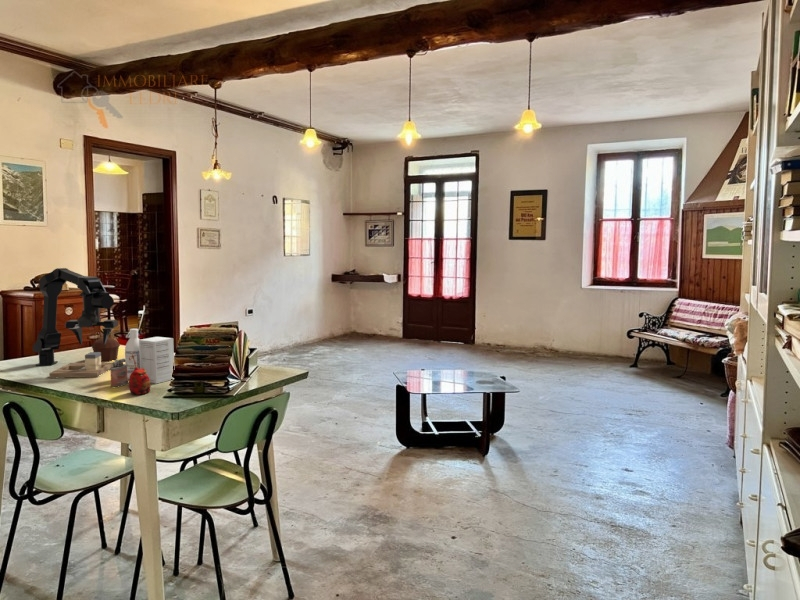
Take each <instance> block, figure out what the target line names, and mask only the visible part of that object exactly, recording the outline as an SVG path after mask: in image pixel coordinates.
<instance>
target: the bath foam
mask: <svg viewBox="0 0 800 600" xmlns="http://www.w3.org/2000/svg"><path fill="white" fill-rule="evenodd" d="M138 331H139V329H138V328H130V329H129V339H128V341H127V342H126V344H125V346H124V355H125V356H124V359H125V360H126V362H124V364H128V367H127V374H128V380H129V379H130V375H131V373H132V372H133V371H134V369H135V364H134V359H135V362H136V366H137V368H138V369H140V355H139V340H141V339H140V338H139V332H138ZM131 353H132V354H133V355H134V359H133V358H132V359H131V360H129V357H130V356H132V354H131ZM135 355H136V356H135ZM130 358H131V357H130Z"/></svg>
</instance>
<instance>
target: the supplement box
mask: <svg viewBox="0 0 800 600" xmlns="http://www.w3.org/2000/svg"><path fill="white" fill-rule="evenodd" d="M174 351H175V350H174V338H173V337H164V336H153V337H147V338H143V339H140V340H139V355H140V369H142V368H143V369H144V370H145V371H146V373H147V375H148V377H149V379H150V384H159V383H160V384H161V383H163V382H164V383H165V382H169V381H172V380H171V379H172V368H173V360H174V361H175V352H174Z"/></svg>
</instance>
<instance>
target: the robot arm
mask: <svg viewBox="0 0 800 600" xmlns="http://www.w3.org/2000/svg"><path fill="white" fill-rule="evenodd" d="M67 282H69V283H71V284H74V285H76V286H77V289H79V290H80V291H82V292H80V294H79V297H82V307H83V309H82V311H81V315H80V316H79V317H78V319H70V320H67V321H65V324H64V328H65V329H68V330H69V331H72V333H73V334H74V335H75V337H76V339H77V341H78V344H79V345H80V346H81V345H83V328H91V327H103V328H102V333H103V336H102V338H103V344H106V341H107V339H108V338H109V336H110V333H111V332H112V330H113V329H115V328H117V327H118V326H119V322H118V320H117V319H106V320H103V321H101V320H102V319H101V318H100V312H101V309H105V310H110V309H111V308H112V307H113V306H114V304H115V302H114V301H115V299H114V298H113V296H111V295H110V292H109V291H106V287H105V286H104V285H103V283H102V281H101V279H100V278H99V277H97V276H89V275H84V274H83V275H82V274H80V273H77V272H75V271H73V270H70V269H68V268H66V267H62V268H61V267H58V268H57V267H56V268H55V269H53V270H52V271H50V272H48V273H46V274H44V275H43V276H42V277H41V278H40V279H39V282H38V285H39V291H40V292H41V294H42V295H43V310H42V311H43V314H42V328H41V329H40V331H39V332H38V333H37V338H36V341H35V342H34V344H33V345H32V351H33V352H34V353H38V363H36V364H35V366H53V365H55V364H57V363H58V361H57V360H56V361H55V350H60V345H61V341H62V339H61V338H62V333H61V332H59V330H58V329H57V315H58V314H57V311H58V297H59V295H60V294H61V293H62V292H63V286H64V285H65V284H66V283H67Z"/></svg>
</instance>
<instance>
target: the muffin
mask: <svg viewBox="0 0 800 600" xmlns="http://www.w3.org/2000/svg"><path fill="white" fill-rule="evenodd" d="M120 346H121V345H120V342H119V341H118V340H117V339H114V338H112V337H108V339H107V341H106V344H103V337H102V338H99V339H97V340H96V341H95V342H93V344H92V346H91V349H92V352H101V361H107V362H113V361H112V360H114V361H115V360H118V357H119V356H118V354H119V347H120Z"/></svg>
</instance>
